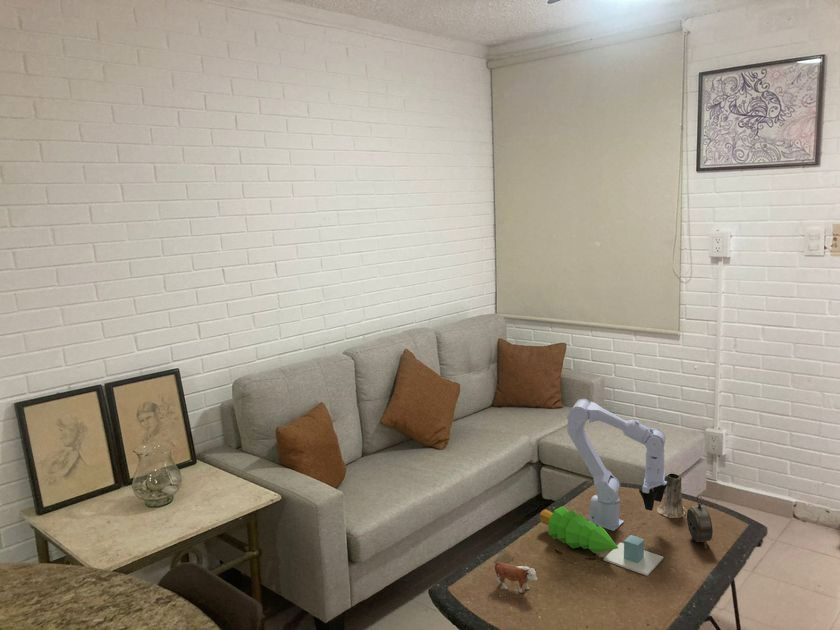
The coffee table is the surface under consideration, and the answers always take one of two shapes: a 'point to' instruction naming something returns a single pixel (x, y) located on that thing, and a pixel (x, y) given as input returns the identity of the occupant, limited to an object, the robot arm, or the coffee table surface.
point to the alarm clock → (699, 523)
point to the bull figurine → (515, 574)
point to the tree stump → (672, 498)
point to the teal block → (633, 548)
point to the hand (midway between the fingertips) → (653, 505)
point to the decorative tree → (576, 530)
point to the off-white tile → (642, 567)
